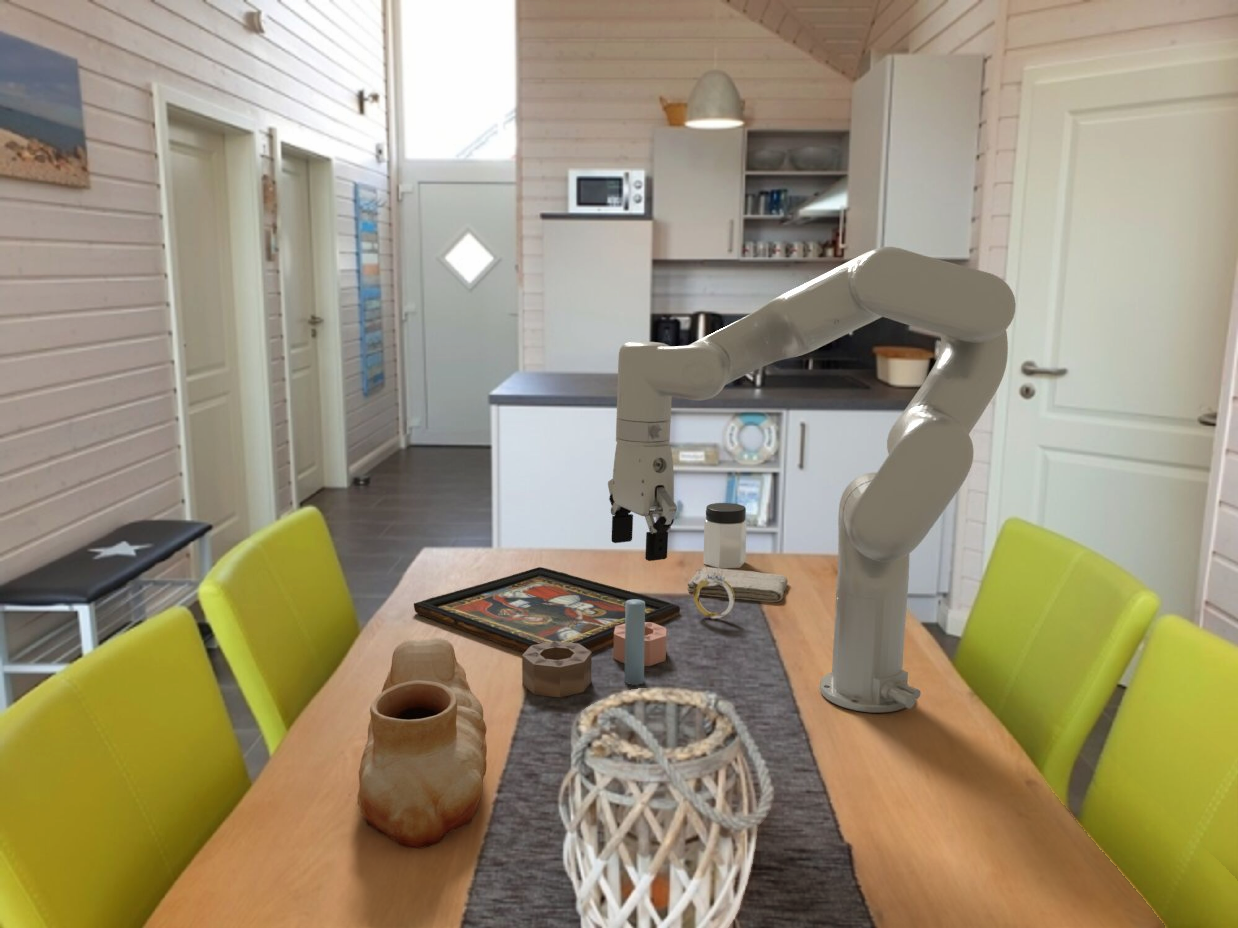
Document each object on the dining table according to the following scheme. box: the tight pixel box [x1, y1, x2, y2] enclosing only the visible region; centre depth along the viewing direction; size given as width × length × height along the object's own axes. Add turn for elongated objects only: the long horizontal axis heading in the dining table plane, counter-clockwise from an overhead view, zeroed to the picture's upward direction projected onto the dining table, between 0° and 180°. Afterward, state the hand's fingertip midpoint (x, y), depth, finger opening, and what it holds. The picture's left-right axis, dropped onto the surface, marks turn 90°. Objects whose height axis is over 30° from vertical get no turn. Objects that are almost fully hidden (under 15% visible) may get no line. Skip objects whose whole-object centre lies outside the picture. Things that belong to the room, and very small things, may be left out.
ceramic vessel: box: [357, 637, 488, 849], centre depth 107 cm, size 14×26×15 cm, turn 8°
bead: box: [521, 641, 592, 699], centre depth 137 cm, size 9×9×4 cm
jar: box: [703, 502, 748, 569], centre depth 197 cm, size 9×8×12 cm
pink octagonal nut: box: [612, 622, 667, 667], centre depth 148 cm, size 8×8×4 cm
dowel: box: [624, 599, 645, 686], centre depth 137 cm, size 3×3×12 cm
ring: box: [693, 572, 736, 620], centre depth 164 cm, size 7×3×8 cm, turn 62°
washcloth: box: [687, 566, 789, 603], centre depth 181 cm, size 12×18×3 cm, turn 74°
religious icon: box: [413, 566, 681, 654], centre depth 166 cm, size 38×35×3 cm
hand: (638, 550), depth 136 cm, fingers open, 9 cm apart
